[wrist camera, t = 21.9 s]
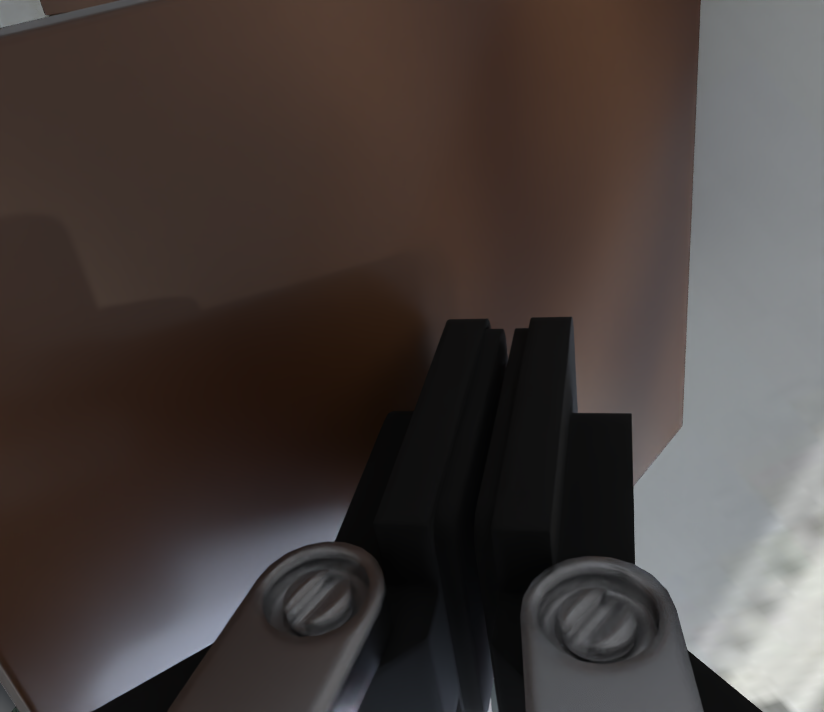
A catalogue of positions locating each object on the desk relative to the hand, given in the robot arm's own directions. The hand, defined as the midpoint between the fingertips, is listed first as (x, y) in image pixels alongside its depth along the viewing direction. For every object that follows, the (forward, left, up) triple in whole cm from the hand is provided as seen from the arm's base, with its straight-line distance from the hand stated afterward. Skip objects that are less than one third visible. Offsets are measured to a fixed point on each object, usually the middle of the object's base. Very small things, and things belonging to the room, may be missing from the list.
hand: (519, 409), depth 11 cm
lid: (+1, -1, -1) cm, 2 cm away
